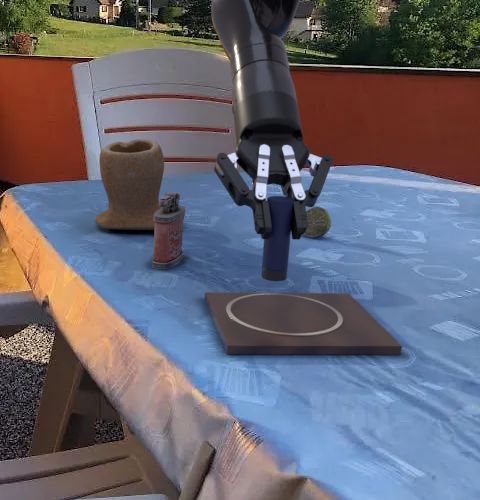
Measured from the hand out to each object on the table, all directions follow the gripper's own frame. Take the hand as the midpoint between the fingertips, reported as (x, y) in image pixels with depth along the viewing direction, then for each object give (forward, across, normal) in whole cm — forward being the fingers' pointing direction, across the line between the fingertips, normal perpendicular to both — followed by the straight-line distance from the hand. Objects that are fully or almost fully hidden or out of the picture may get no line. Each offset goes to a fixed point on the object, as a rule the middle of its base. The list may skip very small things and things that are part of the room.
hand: (282, 235), depth 76 cm
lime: (-21, +16, +36) cm, 45 cm away
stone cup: (-23, -13, +38) cm, 46 cm away
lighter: (-10, -10, +25) cm, 29 cm away
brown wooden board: (+7, +2, +8) cm, 11 cm away
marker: (+2, 0, +5) cm, 6 cm away
